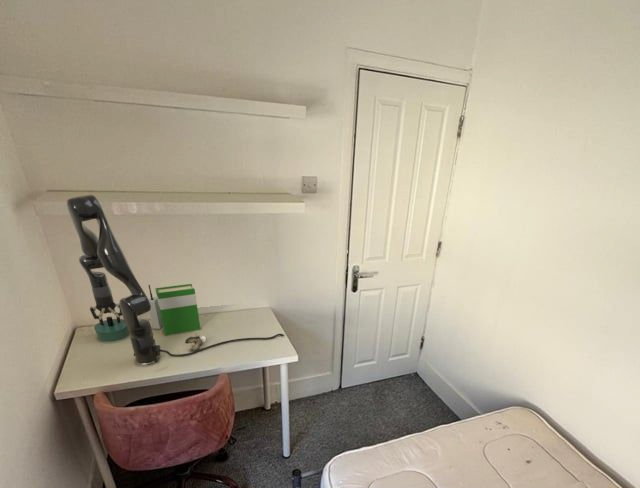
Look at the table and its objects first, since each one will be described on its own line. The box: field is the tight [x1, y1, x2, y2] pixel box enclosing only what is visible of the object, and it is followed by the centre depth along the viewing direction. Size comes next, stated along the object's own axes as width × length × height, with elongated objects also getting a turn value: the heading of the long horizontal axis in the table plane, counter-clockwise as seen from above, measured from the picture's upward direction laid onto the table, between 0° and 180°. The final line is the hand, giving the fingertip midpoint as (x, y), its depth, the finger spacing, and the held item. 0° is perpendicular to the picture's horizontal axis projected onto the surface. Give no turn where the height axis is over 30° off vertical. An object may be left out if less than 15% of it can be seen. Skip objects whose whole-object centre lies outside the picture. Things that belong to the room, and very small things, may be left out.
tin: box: [95, 327, 130, 343], centre depth 200 cm, size 14×14×6 cm
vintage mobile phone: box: [148, 284, 163, 330], centre depth 206 cm, size 4×5×25 cm
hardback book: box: [154, 283, 201, 336], centre depth 207 cm, size 18×7×24 cm, turn 122°
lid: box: [94, 316, 127, 333], centre depth 198 cm, size 15×15×6 cm
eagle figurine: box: [184, 333, 207, 352], centre depth 197 cm, size 8×7×9 cm
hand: (111, 324), depth 198 cm, fingers open, 6 cm apart
